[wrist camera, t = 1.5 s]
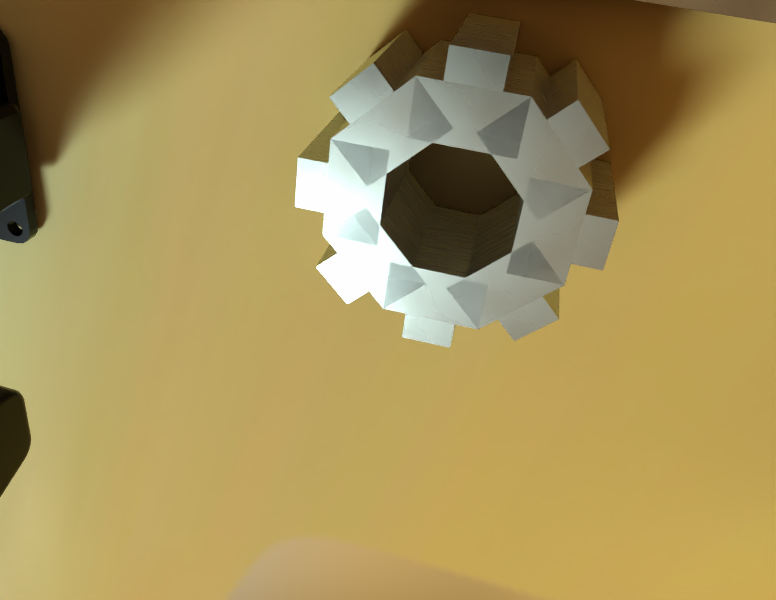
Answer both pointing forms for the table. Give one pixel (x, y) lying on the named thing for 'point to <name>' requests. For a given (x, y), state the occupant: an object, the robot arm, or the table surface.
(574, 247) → the loose gear
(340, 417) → the table surface
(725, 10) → the gear board
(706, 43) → the table surface
